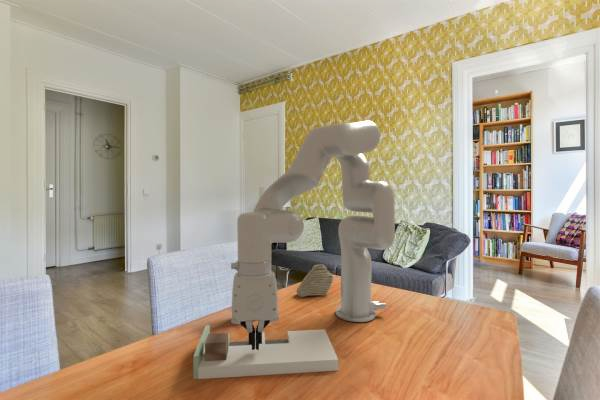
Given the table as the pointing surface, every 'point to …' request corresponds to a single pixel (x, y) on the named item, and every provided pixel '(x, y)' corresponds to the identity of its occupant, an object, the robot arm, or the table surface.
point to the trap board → (269, 356)
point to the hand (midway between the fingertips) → (255, 346)
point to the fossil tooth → (316, 282)
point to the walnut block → (216, 347)
